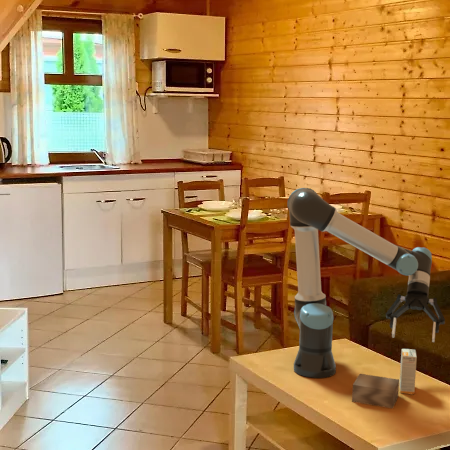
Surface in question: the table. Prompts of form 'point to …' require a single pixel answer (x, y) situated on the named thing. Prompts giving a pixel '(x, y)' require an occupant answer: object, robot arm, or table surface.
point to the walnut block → (375, 390)
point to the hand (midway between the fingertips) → (413, 338)
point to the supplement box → (407, 371)
